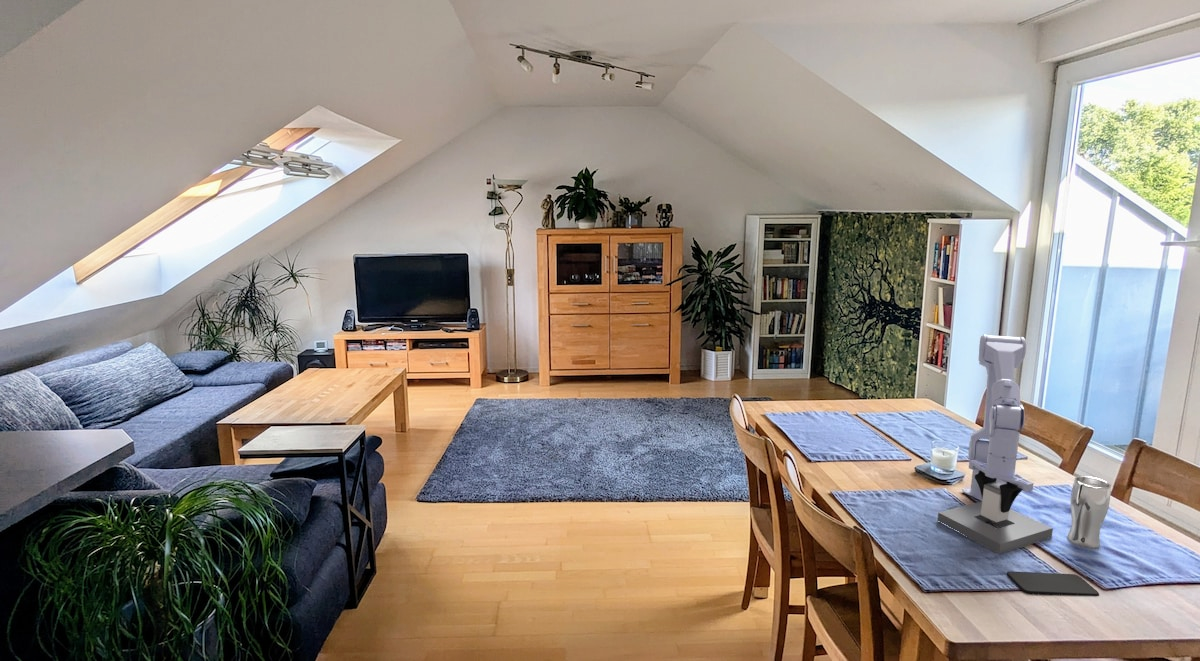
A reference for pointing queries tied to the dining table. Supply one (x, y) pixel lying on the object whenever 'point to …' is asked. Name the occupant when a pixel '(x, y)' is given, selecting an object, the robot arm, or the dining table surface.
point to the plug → (992, 502)
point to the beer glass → (1088, 510)
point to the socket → (1000, 540)
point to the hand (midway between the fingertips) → (995, 507)
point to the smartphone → (1051, 584)
